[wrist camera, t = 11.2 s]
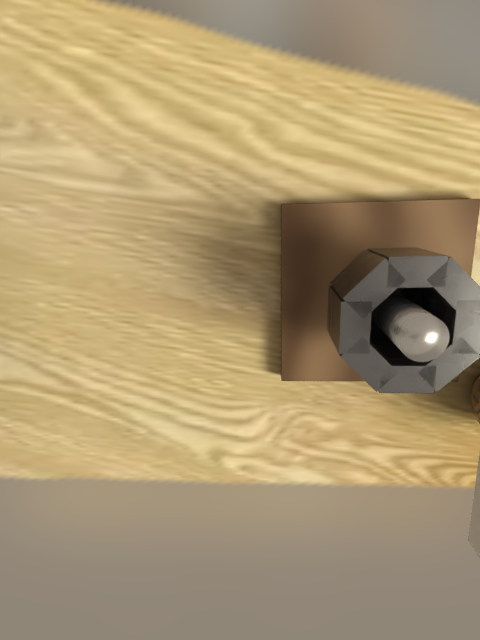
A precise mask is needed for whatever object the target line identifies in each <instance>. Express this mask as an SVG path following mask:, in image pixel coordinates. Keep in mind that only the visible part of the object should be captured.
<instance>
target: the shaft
mask: <svg viewBox="0 0 480 640" xmlns="http://www.w3.org/2000/svg"><path fill="white" fill-rule="evenodd" d="M422 301H423V292H422V291H421V290H420V289H419V288H397V289H396V290H395V291H394V292H393V293H392V294H390V295H389V296H388V297H387V298H386V299H385V300H384V301H383V302H382V303H380V304H379V305H378V306H377V307H376V308H375V309H374V310H373V311H372V312H371V328H370V339H390V340H391V341H392V342H393V343H394V344H395V345H396V346H397V347H398V348H399V349H400V350H401V351H402V353H403V354H404V355H405V356H406V357H408V358H409V359H411V360H413V361H417V362H427V361H431V360H433V359H435V358H437V357H439V356H440V355H441V354H442V353H443V352H444V351H445V349H446V348H447V346H448V343H449V331H448V328H447V326H446V325H445V324H444V322H442V321H441V320H440V319H438V318H437V317H435V316H434V315H432V314H431V313H429V312H427V311H426V310H424V309H423V308H422Z"/></svg>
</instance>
